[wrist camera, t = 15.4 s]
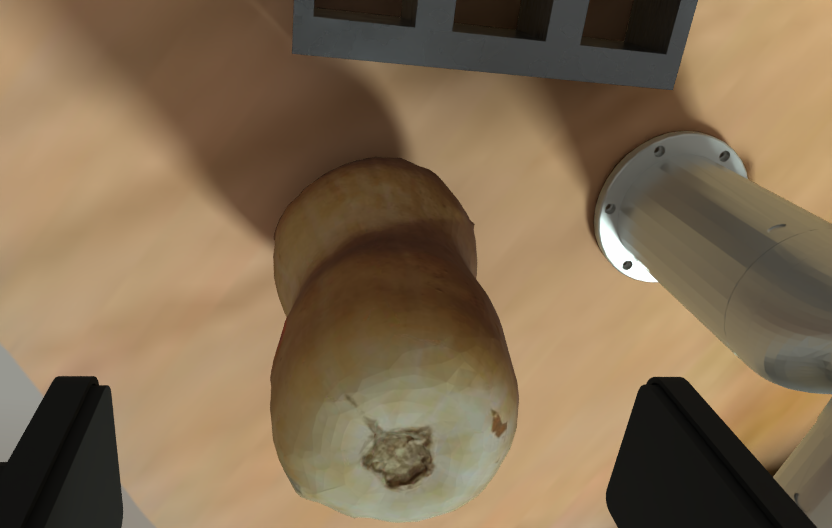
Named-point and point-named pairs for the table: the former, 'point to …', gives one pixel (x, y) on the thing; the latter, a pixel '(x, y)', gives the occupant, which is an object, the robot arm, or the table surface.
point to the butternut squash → (387, 347)
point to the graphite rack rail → (506, 40)
